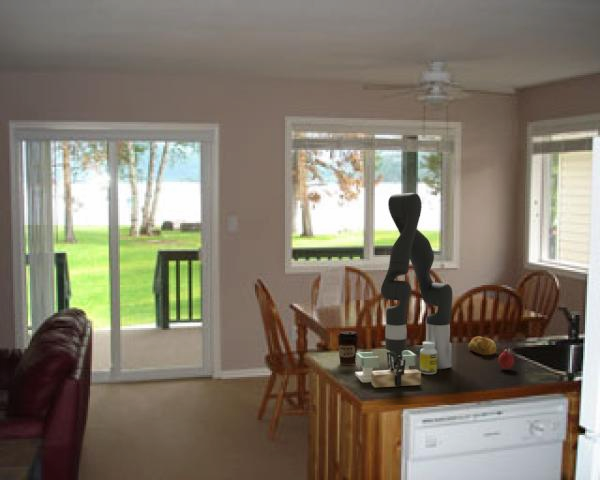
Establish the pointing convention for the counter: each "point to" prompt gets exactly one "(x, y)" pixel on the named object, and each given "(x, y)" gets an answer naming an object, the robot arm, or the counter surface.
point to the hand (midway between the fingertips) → (395, 383)
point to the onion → (506, 360)
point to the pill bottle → (428, 358)
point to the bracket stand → (371, 362)
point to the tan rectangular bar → (389, 378)
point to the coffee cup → (347, 347)
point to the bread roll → (482, 346)
